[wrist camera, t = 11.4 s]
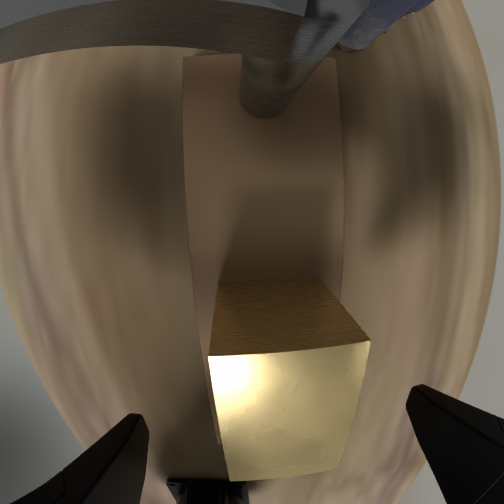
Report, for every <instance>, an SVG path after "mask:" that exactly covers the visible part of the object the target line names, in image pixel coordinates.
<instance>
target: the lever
mask: <svg viewBox="0 0 504 504" xmlns="http://www.w3.org/2000/svg"><path fill="white" fill-rule="evenodd" d="M369 2H370V0H0V64H2V63H5V62H9V61H13V60H17V59H21V58H25V57H30V56H35V55H40V54H45V53H51V52H57V51H64V50H72V49H80V48H91V47H104V46H131V45H146V46H173V47H187V48H198V49H207V50H215V51H223V52H229V53H236V54H242V60H241V74H240V89H239V100H240V103H241V105H242V107H243V108H244V110H245V111H246V112H247V113H249V114H250V115H252V116H254V117H257V118H261V119H269V118H273V117H276V116H278V115H279V114H281V113H282V112H283V111H284V110H285V109H286V107H287V106H288V105H289V103H290V102H291V101H292V99H293V98H294V97H295V95H296V94H297V93H298V91H299V90H300V89H301V87H302V86H303V85H304V84H305V82H306V81H307V80H308V78H309V77H310V76H311V75H312V73H313V72H314V71H315V69H316V68H317V67H318V66H319V64H320V63H321V62H322V61H323V59H324V58H325V57H326V56H327V54H328V53H329V52H330V51H331V49H332V48H333V47H334V46H335V45H336V43H337V42H338V41H339V40H340V39H341V37H342V36H343V35H344V34H345V33H346V31H347V30H348V29H349V28H350V27H351V25H352V24H353V23H354V22H355V21H356V20H357V18H358V17H359V16H360V15H361V14H362V13H363V12H364V10H365V9H366V8H367V6H368V4H369Z"/></svg>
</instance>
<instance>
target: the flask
mask: <svg viewBox="0 0 504 504" xmlns="http://www.w3.org/2000/svg"><path fill="white" fill-rule="evenodd" d="M433 1H434V0H370V2H369V4H368V6H367V8H366V9H365V10H364V12H363V13H362V14H361V15H360V16H359V17H358V18H357V20H356V21H355V22H354V23H353V24H352V25H351V27H350V28H349V29H348V30H347V31H346V33H345V34H344V35H343V36H342V37H341V39H340V40H339V41H338V42H337V43H336V46H339V48H341V49H342V50H343V51H344V52H357V51H360V50H362V49H364V48H366V47H368V46H370V45H371V44H372V42H373V41H374V40H375V39H376V37H377V36H379V35H380V34H382V33H386V32H387V31H389V30H390V31H391V29H392V28H394V27H395V25H396V24H395V23H396V21H397V20H398V19H400V18H402V19H403V20H405V19H404V18H405V16H406V15H407V14H414V13H415V12H418V11H420V10H422V9H423V8H424V7H426V6H427V5H428V4H430V3H431V2H433Z"/></svg>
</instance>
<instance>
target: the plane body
mask: <svg viewBox="0 0 504 504" xmlns="http://www.w3.org/2000/svg"><path fill="white" fill-rule="evenodd" d="M241 60H242V54H236V53H232V54H214V55H201V56H191V57H183V82H182V113H183V156H184V179H185V197H186V213H187V227H188V239H189V251H190V262H191V272H192V281H193V291H194V299H195V308H196V316H197V324H198V331H199V338H200V346H201V352H202V359H203V366H204V372H205V378H206V384H207V390H208V396H209V402H210V407H211V413H212V418H213V423H214V428H215V433H216V438H217V443H218V445H223V444H222V439H221V434H220V428H219V422H218V417H217V411H216V405H215V399H214V392H213V386H212V379H211V372H210V366H209V358H208V354H209V346H210V339H211V331H212V323H213V316H214V309H215V302H216V294H217V287H218V283H231V282H250V281H267V280H284V279H299V278H313V277H319V278H320V279H321V280H322V281H323V283H324V284H325V285H326V286H327V287H328V289H329V290H330V291H331V292H332V293H333V295H334V296H335V297H336V298H337V299H338V301H339V302H340V296H341V282H342V264H343V240H344V163H343V139H342V122H341V109H340V97H339V86H338V77H337V68H336V60H335V58H330V57H325V58H324V59H323V61H322V62H321V63H320V64H319V66H318V67H317V68H316V69H315V71H314V72H313V73H312V75H311V76H310V77H309V78H308V80H307V81H306V82H305V84H304V85H303V86H302V87H301V89H300V90H299V91H298V93H297V94H296V95H295V97H294V98H293V99H292V101H291V102H290V103H289V105H288V106H287V107H286V109H285V110H284V111H283V112H282V113H281V114H279V115H278V116H276V117H273V118H269V119H261V118H257V117H254V116H252V115H250V114H249V113H247V112H246V111H245V110H244V108H243V107H242V105H241V103H240V100H239V89H240V74H241ZM265 480H266V479H265Z"/></svg>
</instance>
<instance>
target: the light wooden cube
mask: <svg viewBox="0 0 504 504" xmlns="http://www.w3.org/2000/svg"><path fill="white" fill-rule="evenodd" d="M370 344H371V340H370V339H369V337H368V336H367V335H366V334H365V332H364V331H363V330H362V329H361V327H360V326H359V325H358V324H357V323H356V321H355V320H354V319H353V318H352V316H351V315H350V314H349V313H348V312H347V310H346V309H345V308H344V307H343V305H342V304H341V303H340V302H339V301H338V299H337V298H336V297H335V296H334V295H333V293H332V292H331V291H330V290H329V289H328V287H327V286H326V285H325V284H324V283H323V281H322V280H321V279H320V278H319V277H313V278H299V279H284V280H267V281H250V282H231V283H218V287H217V294H216V302H215V309H214V316H213V323H212V331H211V339H210V346H209V354H208V358H209V366H210V372H211V379H212V386H213V392H214V399H215V405H216V411H217V417H218V422H219V428H220V434H221V439H222V444H223V450H224V455H225V460H226V465H227V470H228V474H229V479H230V481H252V480H265V479H276V478H285V477H293V476H300V475H306V474H312V473H318V472H323V471H328V470H333V469H338V468H339V465H340V462H341V459H342V456H343V453H344V450H345V447H346V443H347V440H348V437H349V434H350V430H351V427H352V423H353V420H354V416H355V412H356V408H357V404H358V400H359V396H360V392H361V388H362V384H363V379H364V374H365V370H366V365H367V360H368V355H369V349H370Z"/></svg>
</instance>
